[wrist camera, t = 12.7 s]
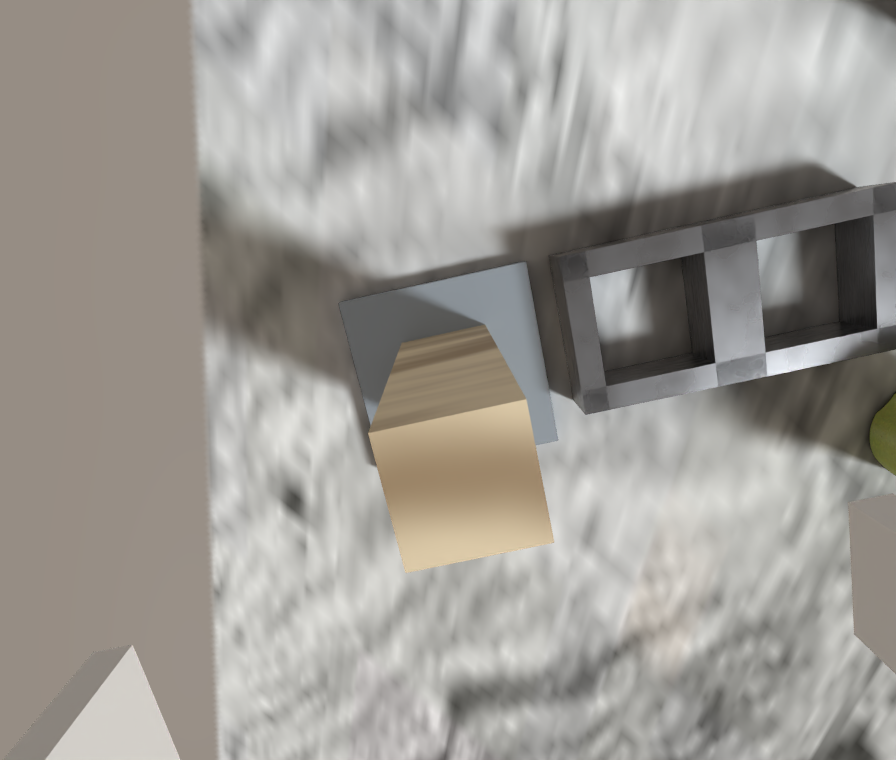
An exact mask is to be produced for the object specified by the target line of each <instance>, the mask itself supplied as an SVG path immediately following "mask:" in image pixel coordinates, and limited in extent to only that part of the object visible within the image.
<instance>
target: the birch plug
mask: <svg viewBox="0 0 896 760" xmlns="http://www.w3.org/2000/svg"><path fill="white" fill-rule="evenodd" d="M368 435H369V438H370V442H371V446H372V450H373V453H374V457H375V461H376V465H377V468H378V472H379V476H380V479H381V483H382V487H383V491H384V494H385V498H386V502H387V505H388V509H389V513H390V517H391V520H392V524H393V528H394V532H395V535H396V539H397V543H398V546H399V550H400V554H401V558H402V561H403V565H404V569H405V572H406V573H408V572H413V571H418V570H423V569H428V568H433V567H438V566H442V565H447V564H452V563H457V562H462V561H467V560H472V559H477V558H482V557H486V556H491V555H496V554H501V553H506V552H511V551H516V550H521V549H525V548H530V547H535V546H540V545H545V544H550V543H554V539H553V533H552V528H551V523H550V518H549V513H548V508H547V502H546V497H545V492H544V487H543V482H542V477H541V471H540V466H539V461H538V456H537V451H536V446H535V441H534V435H533V430H532V425H531V420H530V415H529V410H528V404H527V399H526V397H525V396H524V394H523V392H522V390H521V388H520V387H519V385H518V383H517V381H516V379H515V378H514V376H513V374H512V372H511V370H510V368H509V367H508V365H507V363H506V361H505V359H504V358H503V356H502V354H501V352H500V350H499V349H498V347H497V345H496V343H495V341H494V340H493V338H492V336H491V334H490V332H489V331H488V329H487V327H486V325H481V326H476V327H472V328H467V329H463V330H458V331H454V332H449V333H445V334H440V335H436V336H431V337H426V338H422V339H417V340H413V341H408V342H404V343H401V346H400V349H399V351H398V354H397V357H396V359H395V362H394V365H393V368H392V370H391V373H390V376H389V378H388V381H387V384H386V386H385V389H384V392H383V394H382V397H381V400H380V403H379V405H378V408H377V411H376V413H375V416H374V419H373V421H372V424H371V427H370V429H369V432H368Z"/></svg>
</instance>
